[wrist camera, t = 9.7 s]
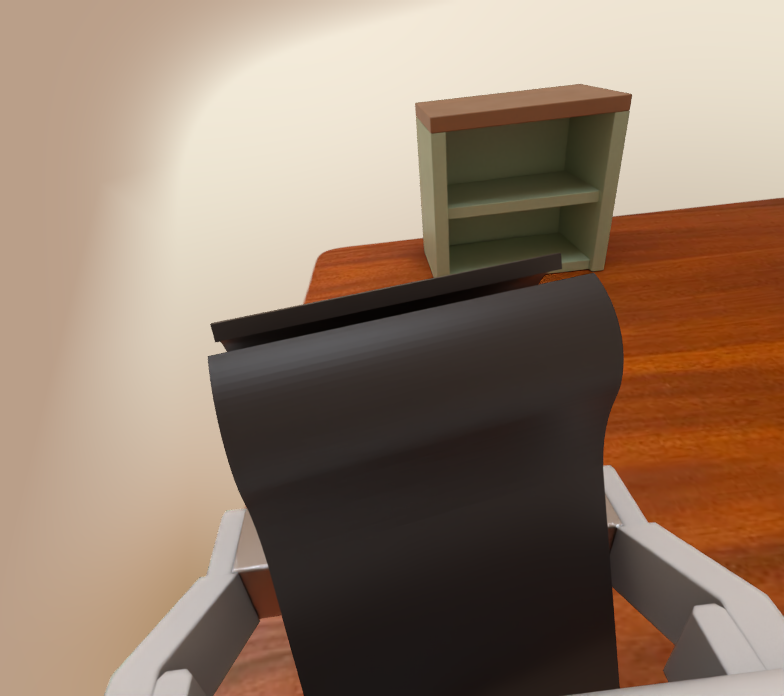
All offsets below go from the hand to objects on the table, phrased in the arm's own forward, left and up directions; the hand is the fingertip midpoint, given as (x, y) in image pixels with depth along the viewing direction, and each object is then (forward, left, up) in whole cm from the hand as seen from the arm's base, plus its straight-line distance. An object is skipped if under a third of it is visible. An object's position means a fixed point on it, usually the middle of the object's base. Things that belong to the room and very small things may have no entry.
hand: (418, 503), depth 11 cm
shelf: (+13, +38, -11) cm, 42 cm away
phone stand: (0, -1, -6) cm, 6 cm away
